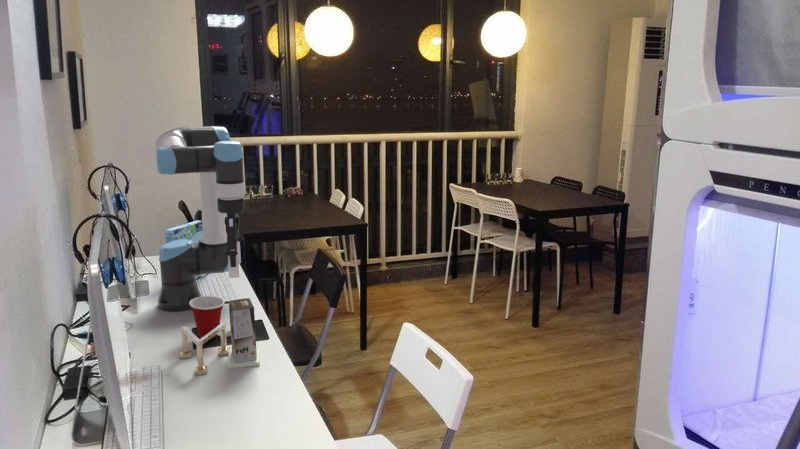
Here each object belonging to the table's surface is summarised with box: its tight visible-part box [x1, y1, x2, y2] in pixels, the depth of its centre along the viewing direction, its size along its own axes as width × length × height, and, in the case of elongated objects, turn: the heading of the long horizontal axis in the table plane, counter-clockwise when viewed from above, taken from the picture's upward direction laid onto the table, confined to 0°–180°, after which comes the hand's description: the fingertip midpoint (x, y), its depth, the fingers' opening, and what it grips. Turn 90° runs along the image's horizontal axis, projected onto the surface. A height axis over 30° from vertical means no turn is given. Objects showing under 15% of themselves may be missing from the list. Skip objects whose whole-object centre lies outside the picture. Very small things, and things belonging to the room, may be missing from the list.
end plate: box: [226, 347, 261, 369], centre depth 187 cm, size 10×9×1 cm
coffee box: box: [228, 297, 257, 363], centre depth 185 cm, size 9×6×16 cm
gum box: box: [164, 220, 204, 278], centre depth 259 cm, size 20×5×23 cm, turn 159°
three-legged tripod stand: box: [179, 322, 231, 376], centre depth 183 cm, size 15×14×9 cm
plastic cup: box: [189, 295, 225, 340], centre depth 202 cm, size 11×11×12 cm
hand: (235, 270), depth 182 cm, fingers open, 13 cm apart
